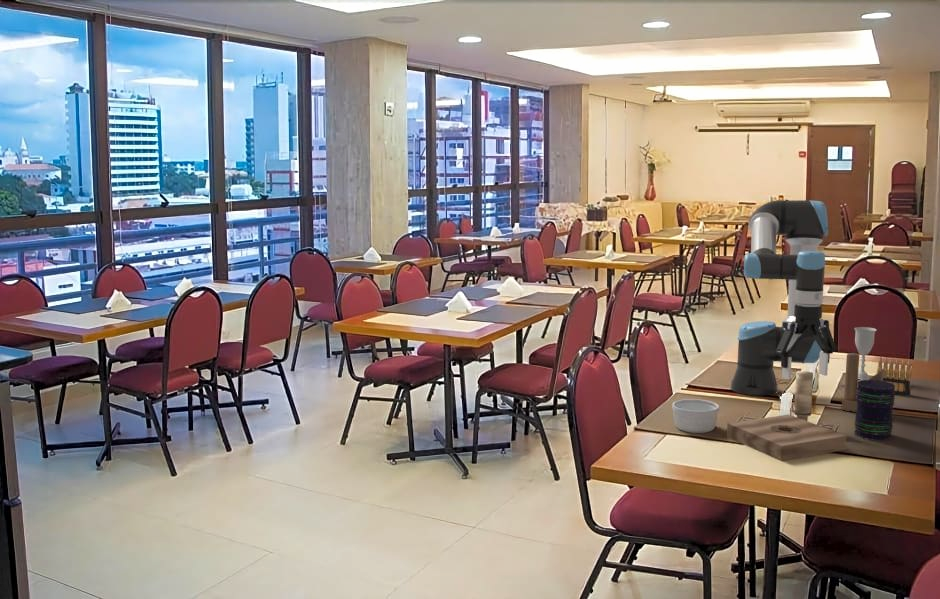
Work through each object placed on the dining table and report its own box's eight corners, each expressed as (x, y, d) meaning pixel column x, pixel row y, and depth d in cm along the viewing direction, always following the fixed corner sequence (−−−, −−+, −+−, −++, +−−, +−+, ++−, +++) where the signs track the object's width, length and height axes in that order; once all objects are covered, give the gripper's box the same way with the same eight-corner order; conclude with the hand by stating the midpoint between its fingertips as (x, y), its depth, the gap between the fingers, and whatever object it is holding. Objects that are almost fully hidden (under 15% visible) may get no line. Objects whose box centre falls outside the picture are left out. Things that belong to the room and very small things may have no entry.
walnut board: (726, 436, 256) (727, 423, 255) (788, 427, 264) (789, 414, 264) (780, 460, 236) (781, 445, 235) (845, 450, 244) (846, 435, 243)
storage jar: (899, 439, 253) (903, 387, 250) (867, 441, 251) (870, 389, 249) (877, 429, 262) (881, 379, 260) (846, 431, 261) (850, 380, 259)
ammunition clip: (874, 391, 304) (877, 356, 302) (875, 390, 306) (878, 355, 304) (909, 396, 298) (912, 360, 296) (910, 394, 300) (913, 359, 298)
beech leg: (789, 424, 267) (792, 371, 265) (802, 422, 269) (805, 370, 267) (801, 428, 263) (804, 375, 260) (814, 427, 265) (817, 373, 262)
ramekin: (689, 436, 256) (690, 413, 255) (662, 424, 268) (663, 401, 267) (727, 431, 262) (728, 407, 260) (698, 419, 273) (699, 396, 272)
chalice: (874, 377, 322) (878, 328, 319) (871, 381, 317) (874, 331, 314) (852, 375, 326) (855, 326, 323) (849, 379, 321) (852, 329, 318)
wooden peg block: (878, 416, 275) (882, 358, 272) (841, 410, 282) (844, 354, 279) (881, 413, 278) (885, 356, 275) (844, 408, 284) (848, 352, 282)
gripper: (783, 309, 252) (779, 383, 255) (851, 304, 262) (847, 375, 265) (765, 305, 259) (761, 377, 262) (832, 300, 268) (828, 370, 271)
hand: (804, 376), depth 263 cm, fingers open, 13 cm apart
